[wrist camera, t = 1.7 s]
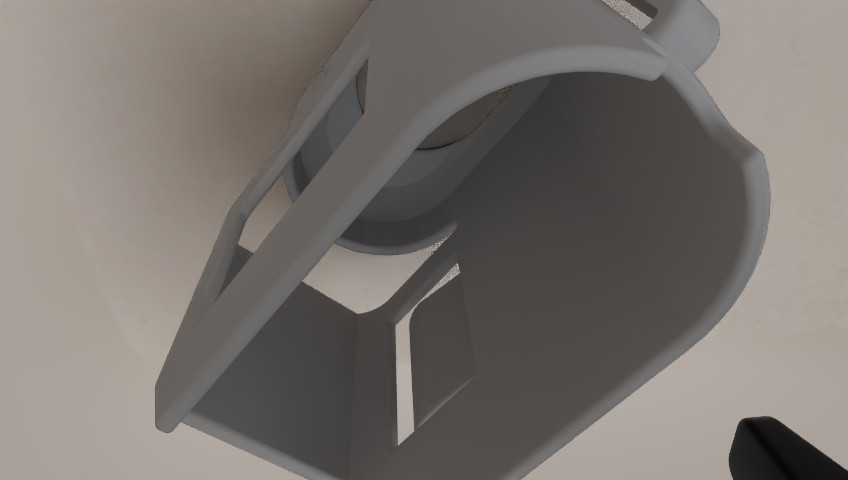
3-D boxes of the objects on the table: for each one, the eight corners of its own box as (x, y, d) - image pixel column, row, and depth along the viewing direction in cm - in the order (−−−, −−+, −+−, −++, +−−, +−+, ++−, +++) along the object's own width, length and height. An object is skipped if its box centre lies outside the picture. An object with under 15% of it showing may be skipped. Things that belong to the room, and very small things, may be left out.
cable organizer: (227, 187, 21) (84, 503, 11) (475, -153, 17) (618, -140, 6) (387, 285, 24) (389, 618, 14) (642, 14, 19) (938, 213, 9)
